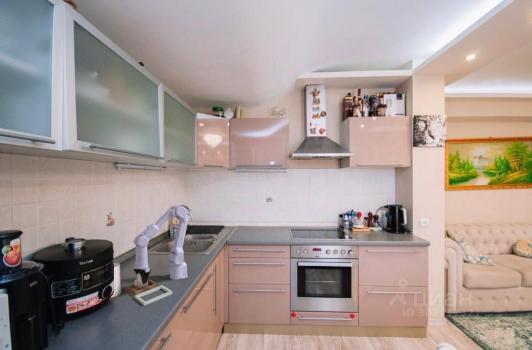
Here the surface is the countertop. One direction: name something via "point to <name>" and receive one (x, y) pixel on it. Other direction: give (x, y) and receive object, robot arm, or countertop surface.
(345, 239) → the countertop surface
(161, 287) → the tray
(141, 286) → the white rounded piece
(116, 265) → the cup
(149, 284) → the tray
